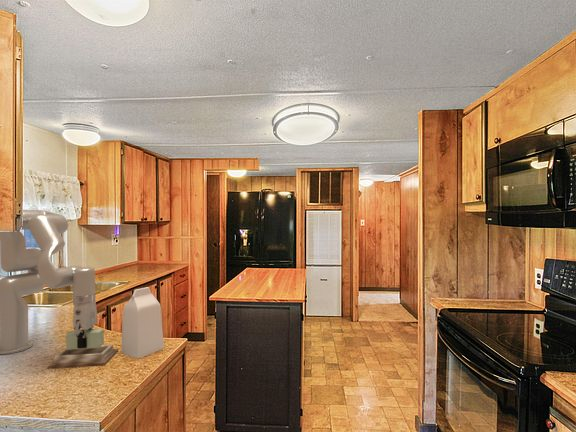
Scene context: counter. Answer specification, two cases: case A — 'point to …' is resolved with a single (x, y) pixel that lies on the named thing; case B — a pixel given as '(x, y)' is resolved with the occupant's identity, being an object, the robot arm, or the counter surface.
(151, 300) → the milk
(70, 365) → the brown rectangular tray
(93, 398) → the counter surface
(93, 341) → the bar
